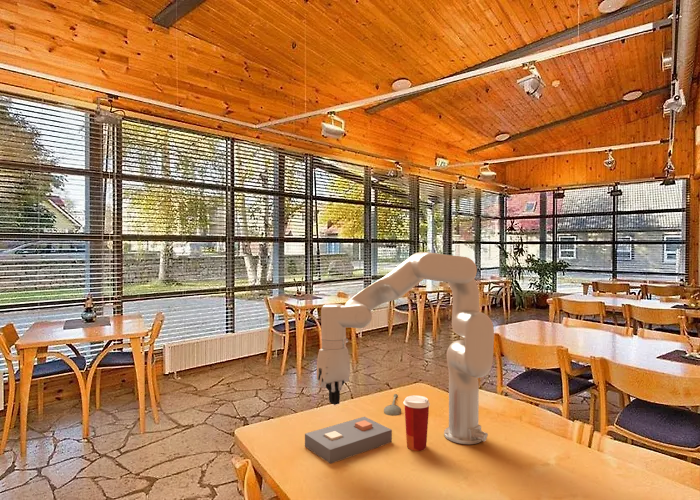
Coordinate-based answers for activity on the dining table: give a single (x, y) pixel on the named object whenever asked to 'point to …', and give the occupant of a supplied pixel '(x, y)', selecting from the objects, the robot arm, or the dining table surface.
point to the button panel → (347, 440)
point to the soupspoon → (392, 408)
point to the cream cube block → (333, 435)
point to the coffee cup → (416, 421)
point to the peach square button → (363, 425)
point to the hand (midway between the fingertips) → (334, 403)
